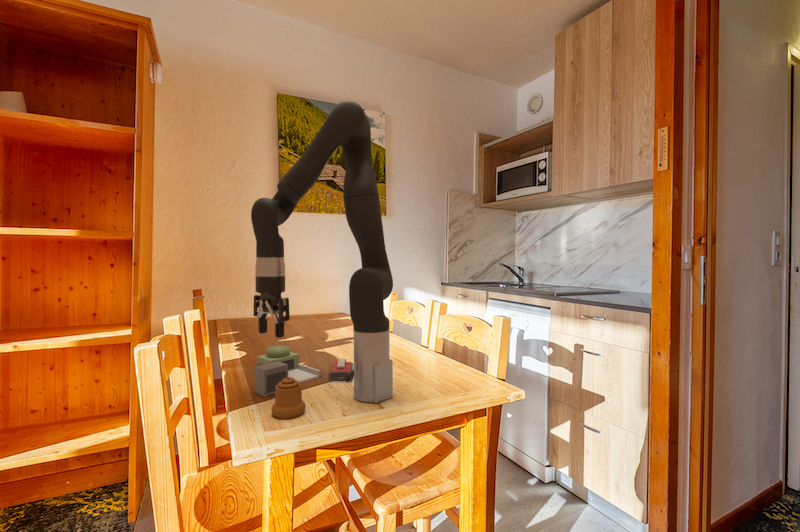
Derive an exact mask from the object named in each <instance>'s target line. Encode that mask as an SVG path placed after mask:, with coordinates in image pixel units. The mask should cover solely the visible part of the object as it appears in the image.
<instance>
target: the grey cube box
mask: <svg viewBox="0 0 800 532" xmlns="http://www.w3.org/2000/svg"><path fill="white" fill-rule="evenodd" d="M284 378H288V364H285V363H282V362H279V361H278V362H273V363H269V364H265V365H260V366H256V367H255V366H254V393H255V394H256V393H257V395H259V396H261V397H264V398H267V397H271V396H274V395H275V388H276V385H278V383H279V382H281V381H282V380H283V379H284ZM273 394H274V395H273ZM270 395H271V396H270Z"/></svg>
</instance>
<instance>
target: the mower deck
mask: <svg viewBox="0 0 800 532" xmlns="http://www.w3.org/2000/svg"><path fill="white" fill-rule="evenodd" d="M290 347H291V346H289V345H286V344H283V345H282V344H280V345H279V344H278V345H271V346H268V347H266V351H265V352H266V353H265V354H263V355H258V356H256V364H255V366H254V368H255V367H256V366H260V365H265V364H269V363H273V362H278V361H279V362H282V363H285V364H288V377H291V378H294V379H295V380H297V381H298V382H299V383H301V384H303V383H305V382H308V381H312V380H315V379H319V378H321V374H322V373H321V370H320V369H318V368H314V367H311V366H307V365H305V364H302V363H300V354H299V353H296V352H292V351H291V348H290Z"/></svg>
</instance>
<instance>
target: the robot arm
mask: <svg viewBox="0 0 800 532" xmlns="http://www.w3.org/2000/svg"><path fill="white" fill-rule="evenodd" d="M364 110H365V109H364V108H362V106H361V105H360V104H359V103H357V101H353V100H347V99H346V100H343V101H340V102H339V103H337V104H336V105H335V106H334V107H333V109H332V110H331V111H330V113H329V114H328V116H327V117H326V119H325V121H324V123H323V124H322V125H321V127H320V129H319V130H318V132H317V133H316V135H315V136H314V138H313V139H312V141H311V142H310V143H309V144H308V146H307V148H306V149H305V151H304V152H303V153H302V154H301V156H300V157H299V158H298V159H297V160H296V162H295V163H294V164H293V165H292V166H291V167H290V169H288V170H287V172H286V173H285V174H284V175H283V176H282V177H281V179H280V180H279V181H278V183H277V184H276V185H277V186H276V188H277V192H276V193H275V195H274V196H273V197H272V198H269V197H261V198H258V199H257V200H255V201H254V202H253V205H252V206H251V212H250V218H251V225H252V229H253V234H254V238H255V241H256V243H255V245H256V246H255V248H256V249H255V251H256V253H255V255H256V259H255V266H254V267H255V268H254V269H255V270H254V271H255V293H257V294H254V295H253V314H252V315H253V317H256V319H257V321H258V323H257V325H258V334H265V333H267V332H268V319H267V318H268V315H269V314H270V317H272V318H273V320H274V337H275V338H276V339H279V338H283V337H284V336H285V323H286V322H288V321H290V319H291V318H290V300H289V299H290V298H289V297H282V293H285V291H286V263H285V244H284V243H285V242H284V239H283V237H282V236H281V235H280V232H279V231H280V230H279V226H281V225H283V224H284V223H285V222H286V221H287V220H288V219H289V218H290V216H291V215H292V213H293V211H294V210H295V209H296V207H297V205H298V204H299V202H300V200H301V199H303V197H304V196H305V195H306V194H307V193H308V192H309V191H310V190H311V188H312V187H313V186H314V185H315V184H316V183H317V181H318V180H319V178H320V176H321V175H322V173H323V171H324V168H325V167H326V165H327V163H328V161H329V159H330V158H331V156H332V155H333V154H334V152H335V151H336V150H337V149H338V148H339V147H340V146H341V147H342V153H343V157H344V163H345V165H344V166H345V167H344V168H345V169H344V170H345V171H344V179H343V187H342V190H343V192H342V194H343V197H342V198H343V206H344V211H345V212H344V215H345V218H346V221H347V222H346V223H347V225H348V226H349V229H350V231H351V234H352V236H353V238H354V240H355V242H356V244H357V246H358V247H357V248H358V249H359V255H360V260H361V268H359V269H357V270H355V272H354V273H353V274H352V276H351V277H350V280H349V286H348V299H349V300H348V301H349V311H350V312H349V315H350V319H351V322H352V325H353V327H352V328H353V364H354V376H353V397H354V399H356V400H357V401H359V402H363V403H374V404H379V403H381V402H383V401H385V400H387V399H391V398H393V396H394V392H393V391H394V390H393V389H394V388H393V387H394V386H393V384H394V382H393V381H394V379H393V375H394V373H393V369H394V368H393V367H394V365H393V364H394V363H393V360H392V359H390V342H391V341H390V318H389V317H387V316H386V314H385V306H384V301H385V300H387V299H388V298H390V295H392V292H393V288H394V279H393V274H392V270H391V266H390V263H389V258H388V254H387V249H386V243H385V242H386V241H385V235H384V233H385V232H384V224H383V219H382V211H381V210H382V209H381V208H382V207H381V201H380V195H379V194H380V193H379V188H378V184H377V179H376V174H375V170H374V166H373V158H372V141H371V140H372V139H371V138H372V137H371V136H372V135H371V134H372V133H371V132H372V130H371V123H370V120H369V118H368V116H367V114H366V113H365V111H364Z"/></svg>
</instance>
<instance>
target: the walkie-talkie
mask: <svg viewBox="0 0 800 532" xmlns="http://www.w3.org/2000/svg"><path fill="white" fill-rule="evenodd" d="M346 359H347V358H339V359H338V360H337V361H335V362H333V363H332V364H331V366H330V370H329V372H328V382H329V381H349V382H351V381H352V380H353V378H354V376H353V375H354V362H351V361H347V360H346ZM350 380H351V381H350Z"/></svg>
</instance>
